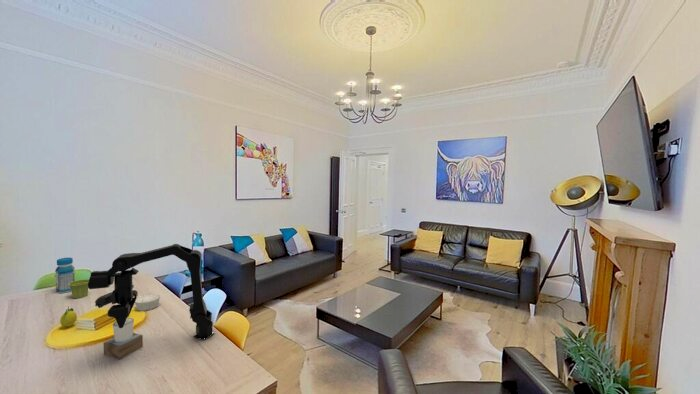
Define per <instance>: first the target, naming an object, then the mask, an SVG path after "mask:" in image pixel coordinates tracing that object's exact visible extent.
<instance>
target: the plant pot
mask: <svg viewBox="0 0 700 394" xmlns="http://www.w3.org/2000/svg"><path fill="white" fill-rule="evenodd" d="M89 279H90V278H89ZM89 279H88V278H86V279H78V280H75V281H73V282H71V283H69V284H68V285H69V286H70V287H71V291H70V292H71V295H72V299H81V298H85V297H87V296H88V293H89V288H88V282H89Z"/></svg>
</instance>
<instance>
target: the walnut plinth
mask: <svg viewBox="0 0 700 394" xmlns="http://www.w3.org/2000/svg"><path fill="white" fill-rule="evenodd" d="M143 337H144V336H143V334H139V333H135V332H133V334H132V337H131V338H130V339H128V340H126V341H123V342H116V341H115V338H114V337H112V338H110V339H108V340H106V341H104V342H103V355H104V356H107V357H111V358H114V359H116V360H122V359H123V358H125V357H127V356H129V355H131V354H132V353H133V352H136V351H137V350H139V349H141V348H142V347H144V346H143V345H144V344H143V343H144V341H143Z"/></svg>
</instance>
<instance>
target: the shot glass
mask: <svg viewBox="0 0 700 394" xmlns="http://www.w3.org/2000/svg"><path fill="white" fill-rule="evenodd" d="M134 324H135V319H134V318H132V317H127V319H126V321H125V324H124V326H123V328H119V326H118V324H117V321H116V320H115V321H114V322H113V323H112V329H113V335H114V336H113V338H115V341H116V342H123V341H126V340H128V339H130V338H131V337H132V334H133V333H134Z"/></svg>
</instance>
